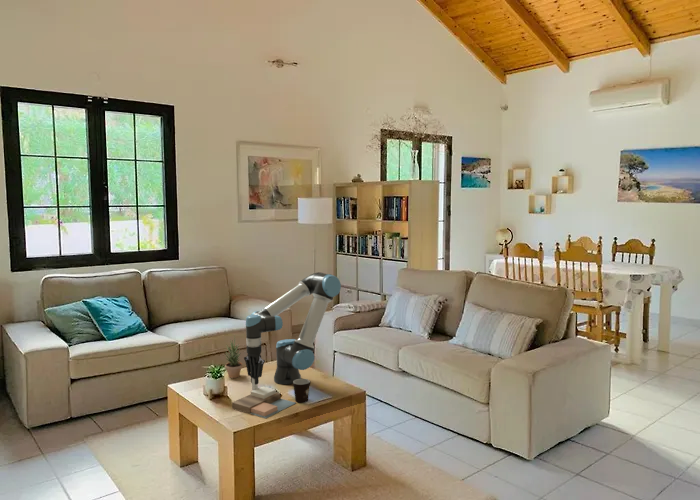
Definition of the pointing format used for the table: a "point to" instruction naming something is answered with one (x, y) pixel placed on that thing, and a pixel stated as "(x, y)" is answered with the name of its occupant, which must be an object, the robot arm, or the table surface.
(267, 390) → the cream coaster
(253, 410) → the terracotta coaster
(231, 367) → the potted plant
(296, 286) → the robot arm
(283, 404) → the slate mat
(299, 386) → the coffee mug
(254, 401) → the walnut board
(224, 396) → the table surface
